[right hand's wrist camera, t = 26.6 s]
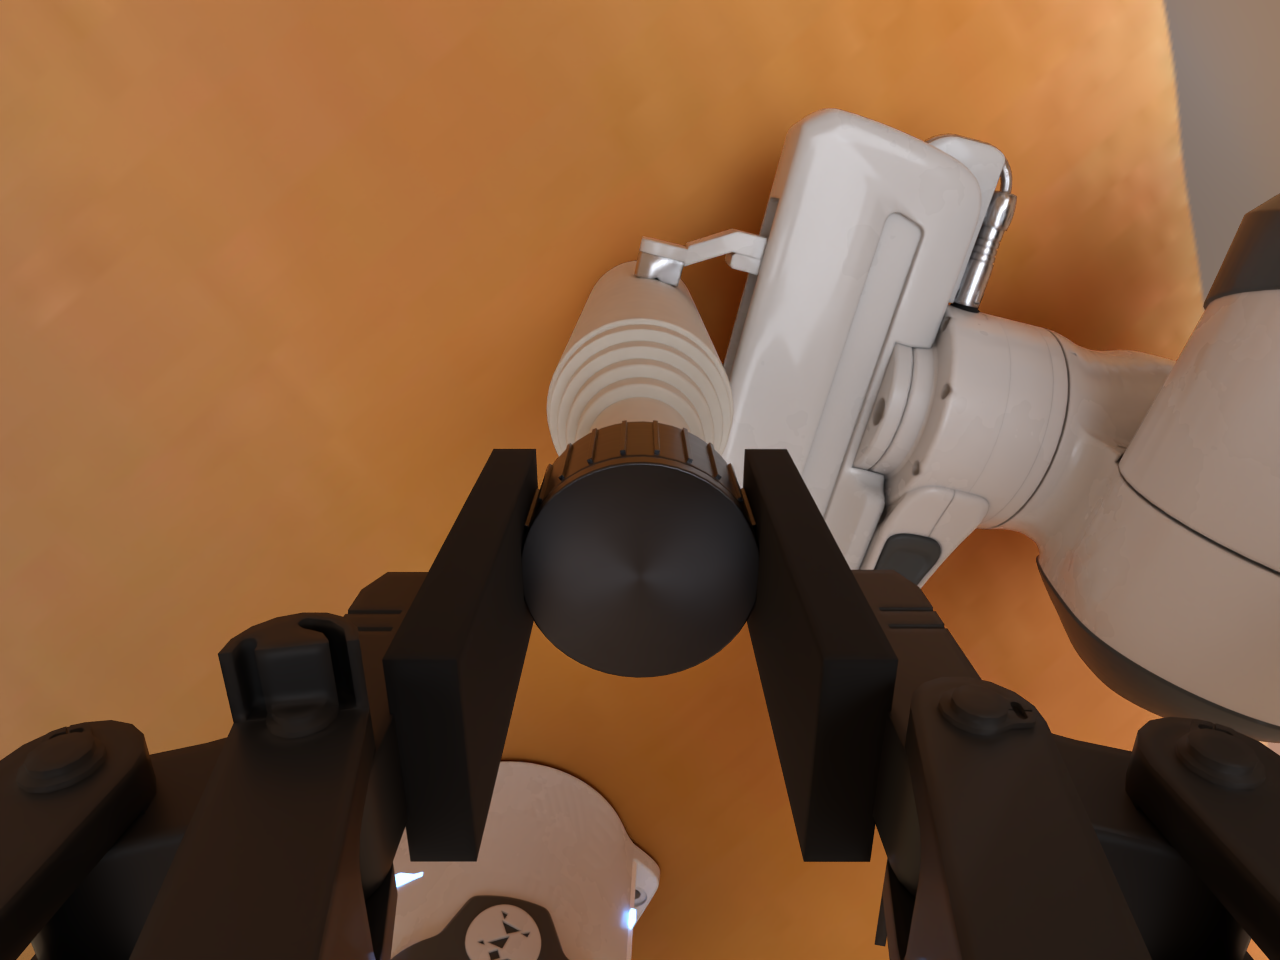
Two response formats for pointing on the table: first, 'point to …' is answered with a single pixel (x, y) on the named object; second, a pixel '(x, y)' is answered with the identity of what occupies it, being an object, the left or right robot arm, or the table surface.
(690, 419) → the bottle
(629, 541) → the cap
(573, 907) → the left robot arm
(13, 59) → the table surface
